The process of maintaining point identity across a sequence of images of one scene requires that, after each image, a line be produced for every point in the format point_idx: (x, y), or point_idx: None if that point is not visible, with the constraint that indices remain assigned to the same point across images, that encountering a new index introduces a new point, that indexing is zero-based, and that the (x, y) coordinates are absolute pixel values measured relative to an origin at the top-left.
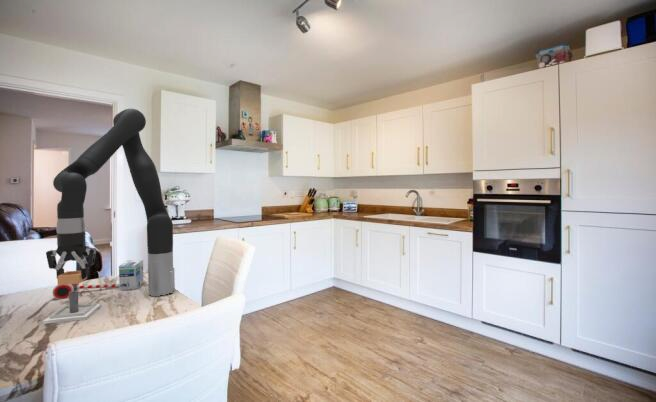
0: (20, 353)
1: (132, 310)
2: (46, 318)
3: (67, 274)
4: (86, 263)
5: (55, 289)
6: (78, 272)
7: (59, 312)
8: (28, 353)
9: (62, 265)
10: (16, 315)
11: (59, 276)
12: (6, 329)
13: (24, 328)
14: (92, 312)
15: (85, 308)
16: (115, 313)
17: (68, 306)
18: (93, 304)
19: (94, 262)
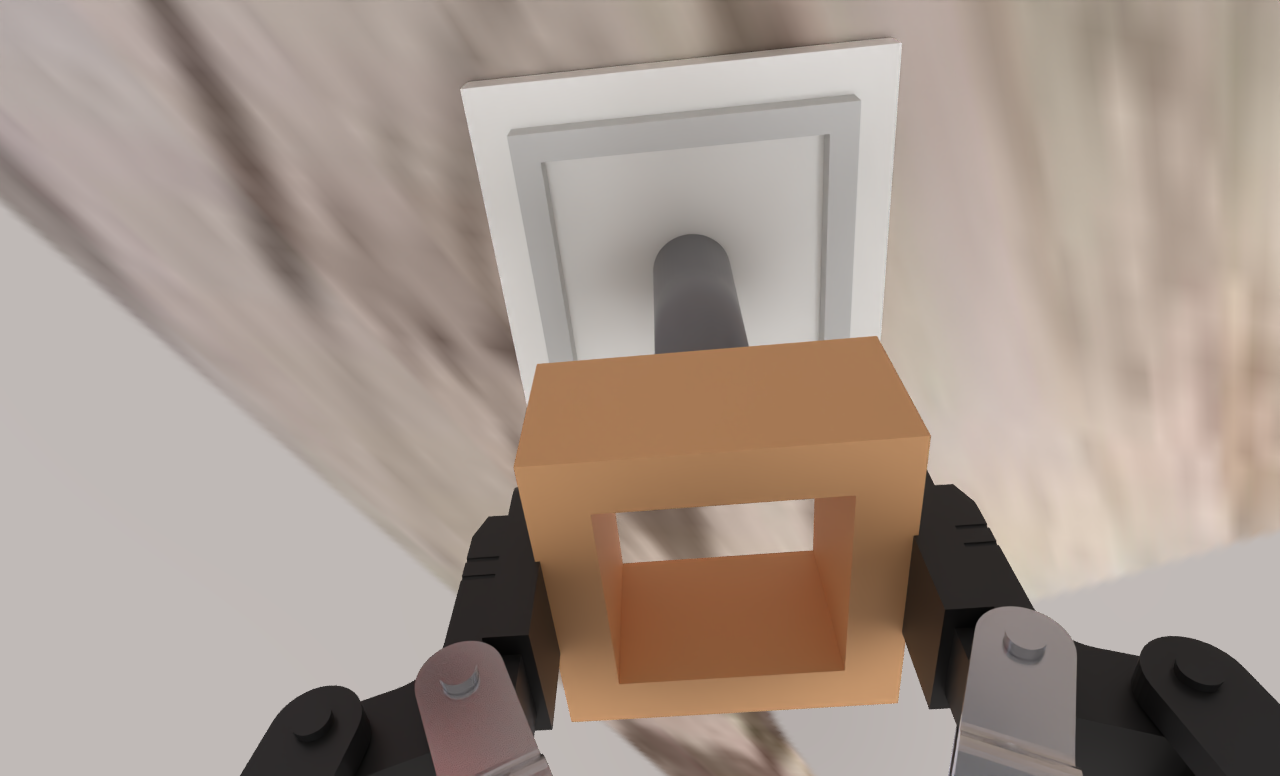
0: (698, 744)
1: (1262, 250)
2: (525, 396)
3: (598, 527)
4: (1054, 712)
5: None
6: (777, 485)
7: (565, 300)
8: (739, 749)
9: (498, 722)
10: (68, 170)
11: (602, 711)
12: (322, 473)
13: (452, 478)
14: (880, 295)
15: (770, 194)
16: (1096, 301)
17: (562, 157)
18: (846, 154)
19: (1260, 698)
